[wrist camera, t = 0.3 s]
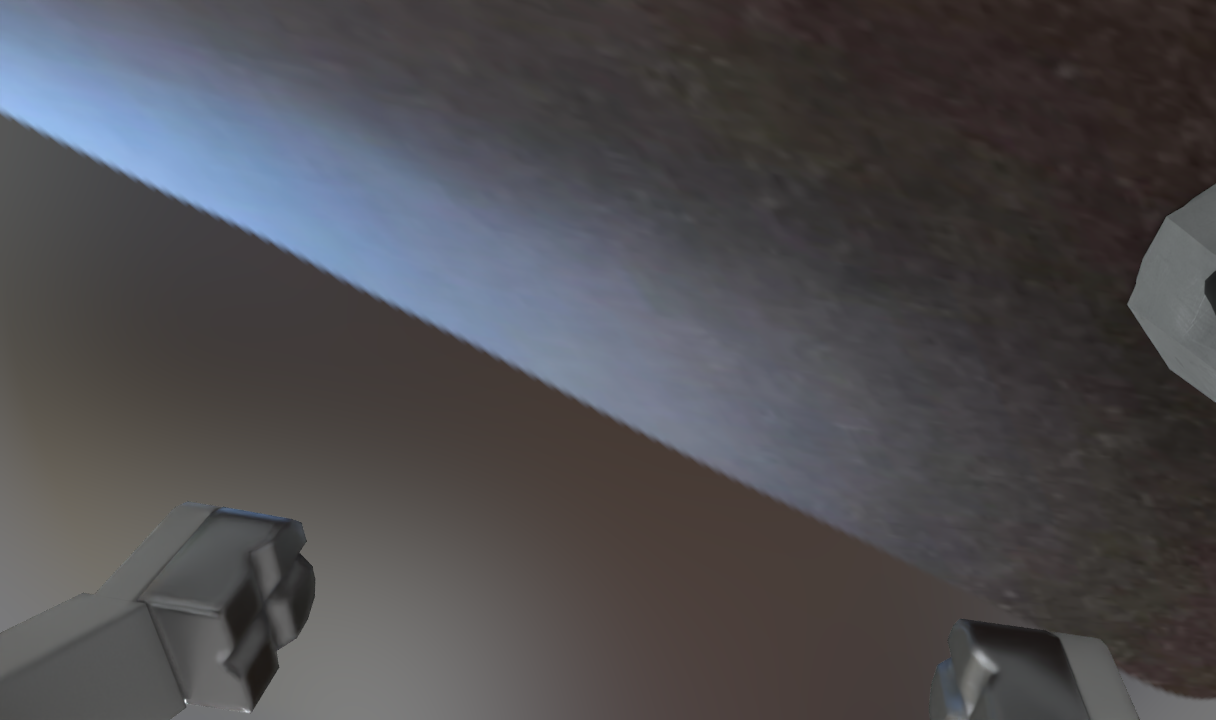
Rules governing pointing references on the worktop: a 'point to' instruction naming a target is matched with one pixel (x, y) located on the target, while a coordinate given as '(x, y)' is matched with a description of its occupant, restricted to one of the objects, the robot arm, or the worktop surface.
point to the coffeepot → (1182, 292)
